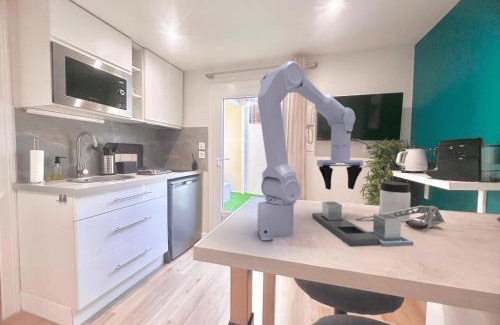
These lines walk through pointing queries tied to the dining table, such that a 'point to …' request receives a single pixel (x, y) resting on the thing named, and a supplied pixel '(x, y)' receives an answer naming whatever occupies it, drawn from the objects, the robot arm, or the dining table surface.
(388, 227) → the light grey rectangular block
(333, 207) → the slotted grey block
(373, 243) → the slotted metal plate
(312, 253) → the dining table surface
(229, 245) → the dining table surface
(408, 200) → the jar
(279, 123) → the robot arm
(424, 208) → the bracket
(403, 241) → the tray
